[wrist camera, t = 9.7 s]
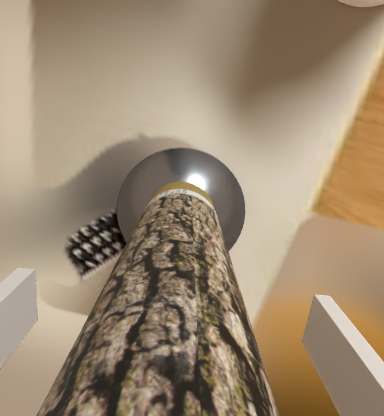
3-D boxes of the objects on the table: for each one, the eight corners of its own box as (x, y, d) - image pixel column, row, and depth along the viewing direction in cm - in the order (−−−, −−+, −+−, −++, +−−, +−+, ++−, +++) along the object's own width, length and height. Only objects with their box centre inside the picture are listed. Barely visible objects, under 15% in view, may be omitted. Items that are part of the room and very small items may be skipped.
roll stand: (122, 140, 29) (59, 154, 15) (252, 155, 29) (311, 181, 15) (117, 260, 32) (62, 364, 18) (233, 271, 33) (267, 380, 19)
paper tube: (139, 233, 30) (-60, 676, 6) (157, 171, 28) (-23, 439, 4) (202, 251, 31) (252, 718, 7) (223, 191, 29) (399, 526, 5)
